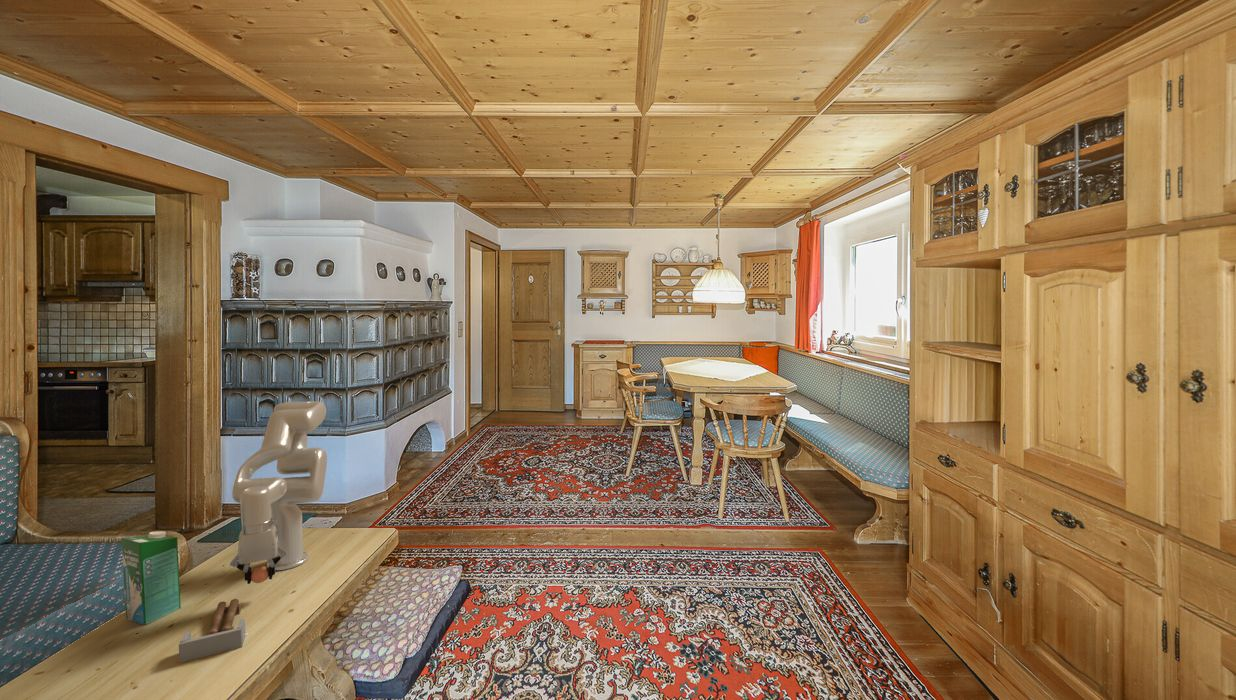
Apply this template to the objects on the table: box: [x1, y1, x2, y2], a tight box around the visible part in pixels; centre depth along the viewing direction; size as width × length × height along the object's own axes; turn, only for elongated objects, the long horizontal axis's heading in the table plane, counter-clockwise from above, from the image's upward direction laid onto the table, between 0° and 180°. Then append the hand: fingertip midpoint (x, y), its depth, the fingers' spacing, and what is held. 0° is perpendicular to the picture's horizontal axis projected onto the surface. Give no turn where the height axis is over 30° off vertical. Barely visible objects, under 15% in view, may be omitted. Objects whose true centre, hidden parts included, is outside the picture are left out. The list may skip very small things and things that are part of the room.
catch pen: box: [178, 618, 247, 663], centre depth 130 cm, size 5×13×5 cm, turn 119°
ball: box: [251, 565, 269, 584], centre depth 153 cm, size 5×5×5 cm
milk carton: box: [121, 530, 182, 626], centre depth 144 cm, size 9×9×25 cm
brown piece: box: [207, 598, 241, 635], centre depth 140 cm, size 12×6×4 cm, turn 29°
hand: (260, 578), depth 153 cm, fingers closed on ball, 4 cm apart
